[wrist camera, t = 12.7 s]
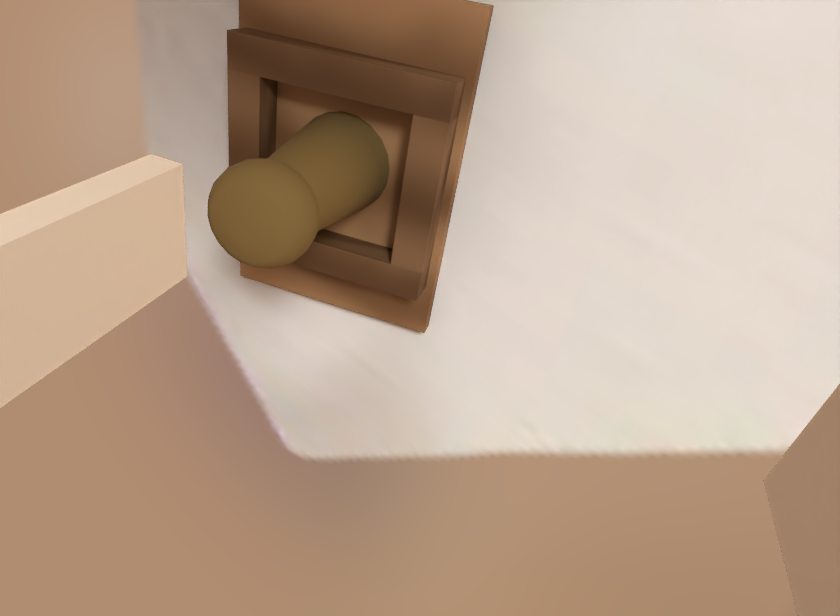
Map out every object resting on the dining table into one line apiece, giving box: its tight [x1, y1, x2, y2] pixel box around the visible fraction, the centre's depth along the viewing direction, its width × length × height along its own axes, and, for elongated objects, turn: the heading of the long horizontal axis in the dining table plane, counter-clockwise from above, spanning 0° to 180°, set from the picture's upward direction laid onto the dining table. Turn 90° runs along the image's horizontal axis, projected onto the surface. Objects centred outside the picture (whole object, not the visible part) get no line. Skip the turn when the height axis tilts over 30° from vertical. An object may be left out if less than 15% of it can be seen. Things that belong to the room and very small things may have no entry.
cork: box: [208, 111, 390, 269], centre depth 31 cm, size 6×6×11 cm
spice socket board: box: [227, 0, 493, 333], centre depth 35 cm, size 20×14×3 cm
